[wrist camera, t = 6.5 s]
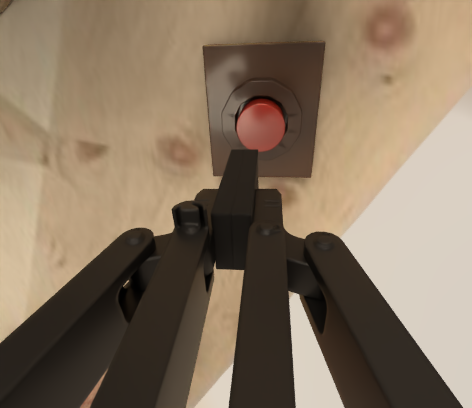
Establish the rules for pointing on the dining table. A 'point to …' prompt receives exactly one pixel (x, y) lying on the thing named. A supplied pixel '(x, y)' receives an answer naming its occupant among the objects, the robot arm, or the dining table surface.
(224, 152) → the switch box
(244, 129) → the lamp switch
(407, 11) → the dining table surface
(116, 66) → the dining table surface
